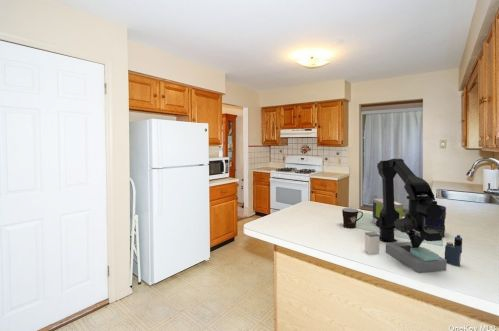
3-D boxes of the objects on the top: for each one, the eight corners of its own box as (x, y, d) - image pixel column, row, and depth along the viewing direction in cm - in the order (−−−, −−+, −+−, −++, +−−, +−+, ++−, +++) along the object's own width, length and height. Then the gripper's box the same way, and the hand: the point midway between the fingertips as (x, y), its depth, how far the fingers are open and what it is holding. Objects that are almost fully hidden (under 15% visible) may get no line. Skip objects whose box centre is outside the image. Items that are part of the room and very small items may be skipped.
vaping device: (459, 267, 98) (461, 237, 97) (443, 262, 102) (445, 233, 101) (461, 265, 99) (463, 235, 98) (445, 260, 104) (447, 231, 102)
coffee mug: (342, 228, 143) (342, 211, 142) (341, 223, 151) (341, 207, 150) (364, 230, 139) (364, 212, 138) (362, 225, 148) (362, 208, 147)
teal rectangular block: (410, 253, 102) (410, 248, 101) (423, 251, 102) (423, 247, 102) (424, 261, 95) (424, 256, 94) (438, 259, 95) (438, 254, 95)
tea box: (402, 230, 138) (403, 204, 137) (384, 230, 138) (385, 204, 137) (388, 221, 153) (389, 197, 152) (371, 222, 153) (372, 198, 152)
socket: (385, 252, 112) (385, 243, 112) (409, 250, 114) (410, 241, 113) (417, 272, 94) (418, 262, 94) (446, 270, 96) (446, 260, 95)
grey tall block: (364, 251, 114) (365, 232, 113) (373, 250, 114) (374, 231, 113) (369, 254, 110) (370, 235, 109) (378, 253, 111) (379, 234, 110)
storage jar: (449, 238, 126) (450, 209, 125) (427, 237, 128) (428, 208, 127) (438, 231, 136) (439, 204, 134) (418, 230, 138) (419, 203, 136)
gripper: (383, 207, 109) (381, 242, 111) (417, 220, 91) (415, 261, 92) (406, 206, 111) (404, 240, 112) (444, 218, 93) (442, 259, 94)
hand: (415, 249), depth 103 cm, fingers closed
